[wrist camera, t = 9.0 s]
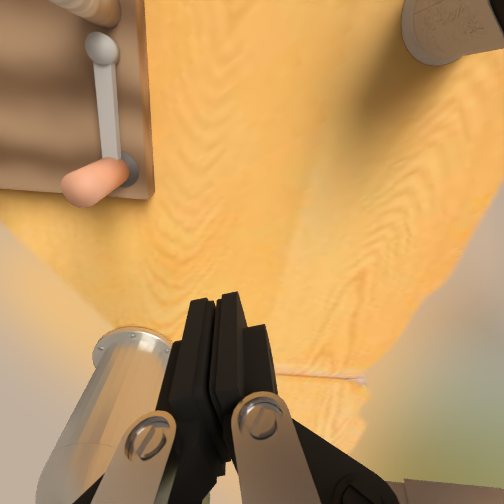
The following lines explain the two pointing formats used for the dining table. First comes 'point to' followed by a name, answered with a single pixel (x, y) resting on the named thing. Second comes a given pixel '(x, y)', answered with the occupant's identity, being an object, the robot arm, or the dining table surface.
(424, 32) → the grey cylinder with loop
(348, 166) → the dining table surface
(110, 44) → the crank handle
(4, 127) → the wooden peg board
